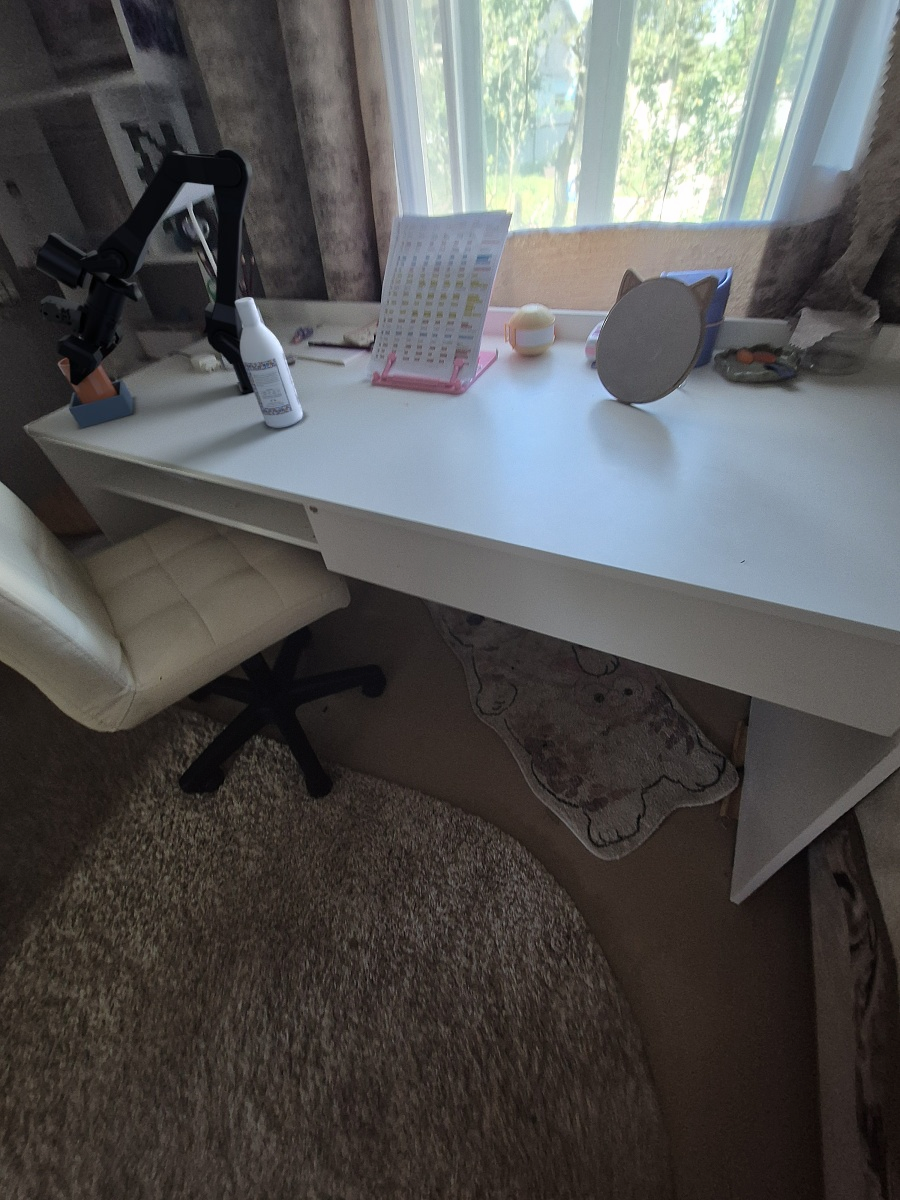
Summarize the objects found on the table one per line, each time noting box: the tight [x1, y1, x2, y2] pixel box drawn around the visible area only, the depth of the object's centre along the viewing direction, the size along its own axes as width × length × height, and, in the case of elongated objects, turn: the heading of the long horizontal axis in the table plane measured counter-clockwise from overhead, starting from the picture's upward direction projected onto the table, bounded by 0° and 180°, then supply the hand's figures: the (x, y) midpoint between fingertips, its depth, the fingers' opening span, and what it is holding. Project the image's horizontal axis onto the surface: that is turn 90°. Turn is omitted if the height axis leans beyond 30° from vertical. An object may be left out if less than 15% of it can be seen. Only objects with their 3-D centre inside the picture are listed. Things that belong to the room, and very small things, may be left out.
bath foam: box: [235, 296, 304, 429], centre depth 90 cm, size 7×7×20 cm
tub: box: [68, 379, 134, 429], centre depth 108 cm, size 10×10×4 cm
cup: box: [57, 357, 118, 405], centre depth 106 cm, size 7×7×10 cm
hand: (80, 377), depth 105 cm, fingers closed on cup, 7 cm apart
